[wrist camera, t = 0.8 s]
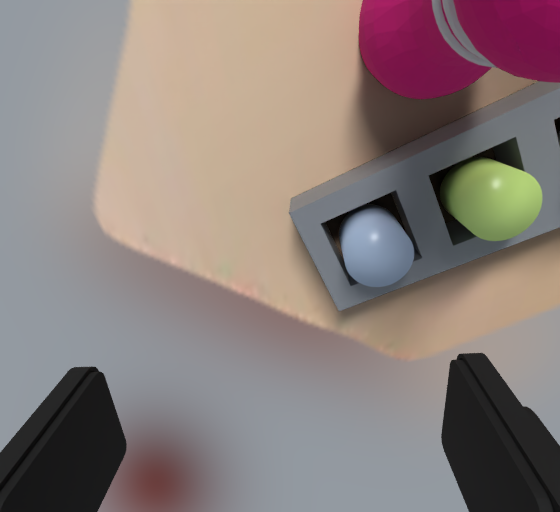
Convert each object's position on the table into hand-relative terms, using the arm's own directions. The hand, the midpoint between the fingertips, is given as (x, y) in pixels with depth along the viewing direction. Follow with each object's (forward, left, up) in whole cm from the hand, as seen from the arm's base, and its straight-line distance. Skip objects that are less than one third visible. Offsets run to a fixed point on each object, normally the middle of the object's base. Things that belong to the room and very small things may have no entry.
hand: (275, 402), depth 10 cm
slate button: (-4, +3, -17) cm, 17 cm away
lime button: (-11, +3, -17) cm, 20 cm away
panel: (-11, +3, -19) cm, 22 cm away
